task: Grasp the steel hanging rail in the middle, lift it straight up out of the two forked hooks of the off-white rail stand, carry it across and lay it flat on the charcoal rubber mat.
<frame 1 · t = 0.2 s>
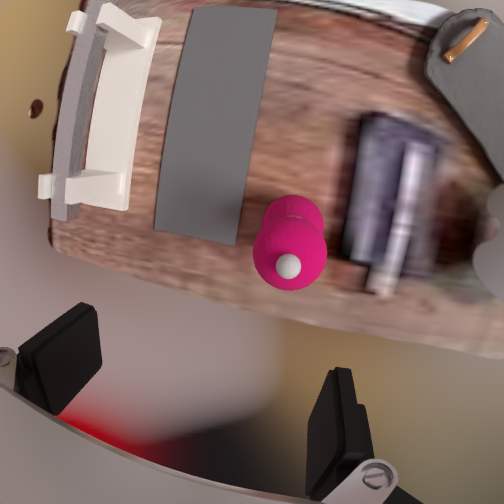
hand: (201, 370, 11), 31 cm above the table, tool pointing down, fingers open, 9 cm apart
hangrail: (82, 101, 30), point 9 cm above the table, touching rail stand
pepper mill: (293, 219, 40), on the table
mat: (212, 114, 37), on the table
rail stand: (119, 109, 39), on the table
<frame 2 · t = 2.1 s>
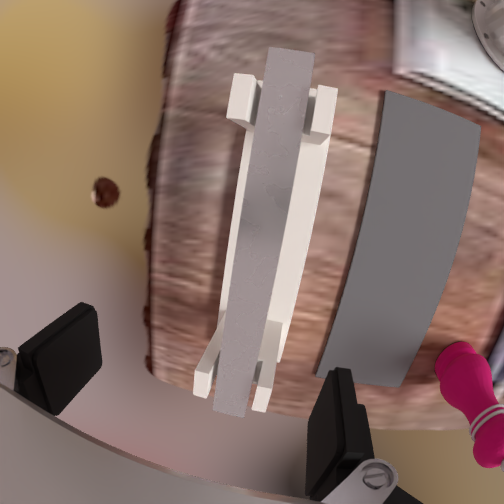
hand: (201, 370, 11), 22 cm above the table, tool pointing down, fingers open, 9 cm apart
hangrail: (259, 256, 23), point 9 cm above the table, touching rail stand
pepper mill: (453, 359, 33), on the table
mat: (405, 259, 30), on the table
rail stand: (271, 230, 32), on the table
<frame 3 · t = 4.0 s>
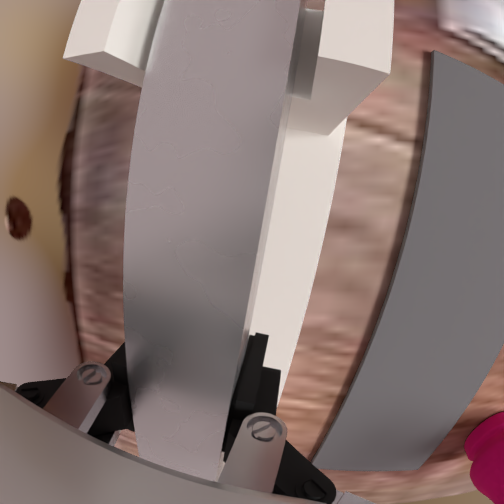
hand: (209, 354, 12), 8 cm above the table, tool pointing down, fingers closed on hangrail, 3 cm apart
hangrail: (198, 376, 10), point 9 cm above the table, touching gripper, rail stand
pepper mill: (487, 430, 20), on the table
mat: (452, 323, 17), on the table
rail stand: (242, 285, 19), on the table
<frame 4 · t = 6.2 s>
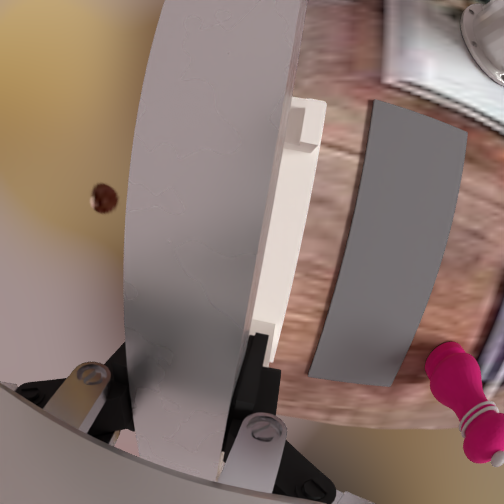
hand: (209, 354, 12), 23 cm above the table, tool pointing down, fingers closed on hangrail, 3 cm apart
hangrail: (198, 376, 10), point 24 cm above the table, touching gripper
pepper mill: (443, 359, 34), on the table
mat: (393, 262, 32), on the table
rail stand: (264, 235, 33), on the table
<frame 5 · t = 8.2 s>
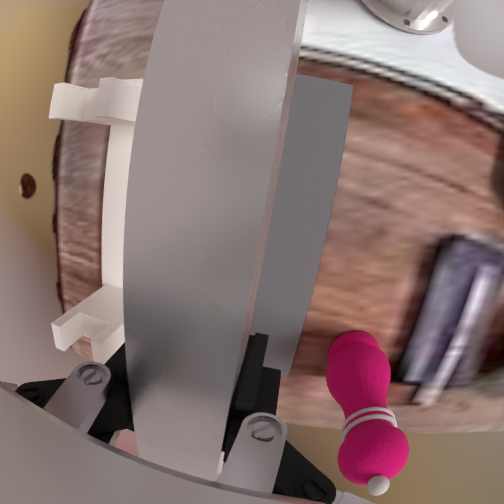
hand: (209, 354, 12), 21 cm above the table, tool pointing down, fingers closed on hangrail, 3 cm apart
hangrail: (198, 377, 10), point 23 cm above the table, touching gripper
pepper mill: (353, 351, 34), on the table
mat: (266, 234, 32), on the table
rail stand: (137, 210, 33), on the table
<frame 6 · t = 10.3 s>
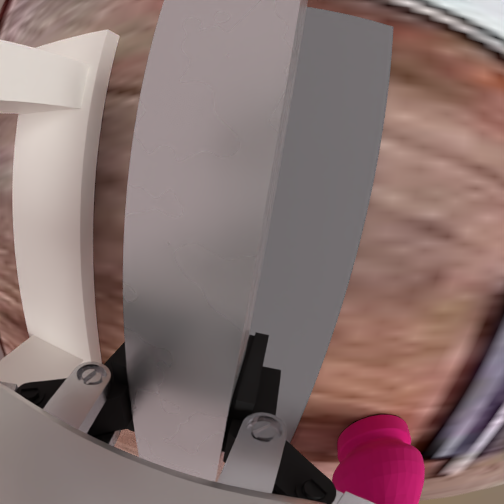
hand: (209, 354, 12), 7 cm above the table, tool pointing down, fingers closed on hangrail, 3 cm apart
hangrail: (198, 377, 10), point 9 cm above the table, touching gripper
pepper mill: (372, 435, 21), on the table
mat: (243, 283, 18), on the table
rail stand: (55, 237, 20), on the table
when the fingers open (2 cm above the table, at t = 12.2 s): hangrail drops 3 cm, resting on mat.
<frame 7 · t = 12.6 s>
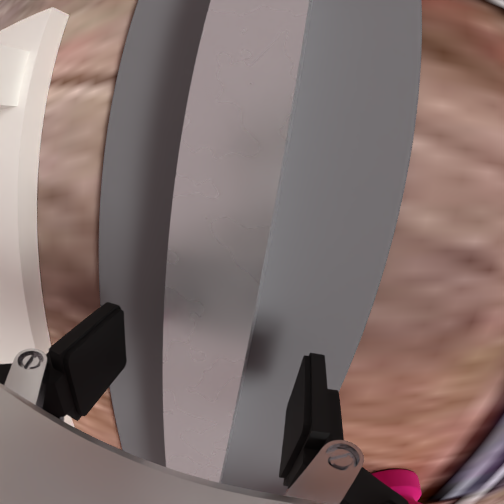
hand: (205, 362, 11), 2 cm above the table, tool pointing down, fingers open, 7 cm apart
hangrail: (216, 338, 13), resting on mat
pepper mill: (377, 487, 16), on the table
mat: (219, 333, 13), on the table
rail stand: (4, 262, 15), on the table
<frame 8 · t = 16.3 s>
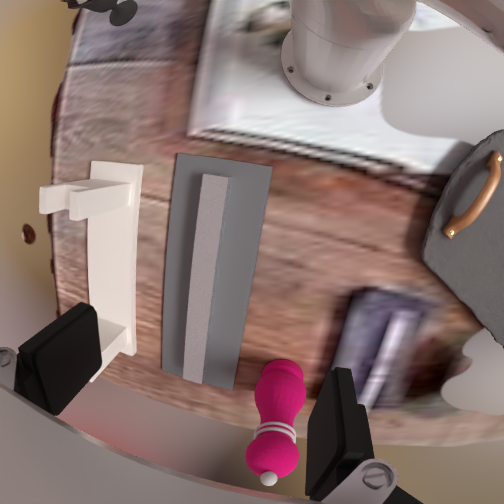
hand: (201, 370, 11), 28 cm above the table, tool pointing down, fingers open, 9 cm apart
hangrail: (205, 287, 41), resting on mat
sundae: (124, 13, 32), on the table
pepper mill: (282, 374, 44), on the table
mat: (206, 286, 41), on the table
rail stand: (113, 263, 43), on the table
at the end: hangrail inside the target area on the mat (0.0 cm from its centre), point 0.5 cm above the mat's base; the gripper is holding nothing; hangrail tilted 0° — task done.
